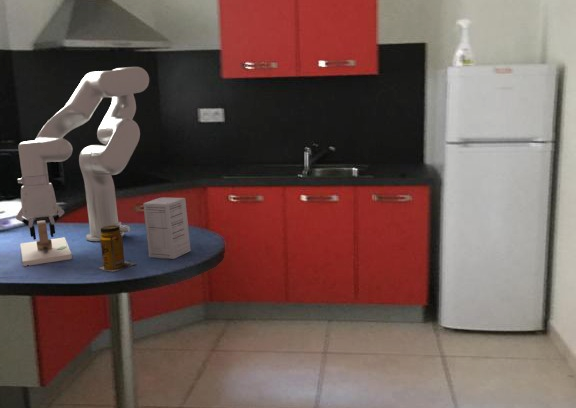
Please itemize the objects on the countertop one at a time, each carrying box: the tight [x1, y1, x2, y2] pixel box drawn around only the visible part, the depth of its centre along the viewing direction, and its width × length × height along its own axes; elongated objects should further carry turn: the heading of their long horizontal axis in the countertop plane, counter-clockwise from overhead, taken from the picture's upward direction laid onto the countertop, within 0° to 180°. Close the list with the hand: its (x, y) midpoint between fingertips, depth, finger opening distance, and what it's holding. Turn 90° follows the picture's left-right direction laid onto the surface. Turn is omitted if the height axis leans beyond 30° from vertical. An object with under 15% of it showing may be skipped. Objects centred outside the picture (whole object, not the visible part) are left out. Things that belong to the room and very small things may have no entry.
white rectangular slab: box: [20, 237, 73, 267], centre depth 210 cm, size 24×14×2 cm, turn 23°
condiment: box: [98, 225, 135, 273], centre depth 191 cm, size 7×8×12 cm
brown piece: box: [36, 220, 52, 253], centre depth 208 cm, size 10×4×8 cm, turn 23°
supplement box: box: [142, 196, 191, 260], centre depth 200 cm, size 10×9×17 cm
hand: (43, 236), depth 210 cm, fingers open, 4 cm apart
